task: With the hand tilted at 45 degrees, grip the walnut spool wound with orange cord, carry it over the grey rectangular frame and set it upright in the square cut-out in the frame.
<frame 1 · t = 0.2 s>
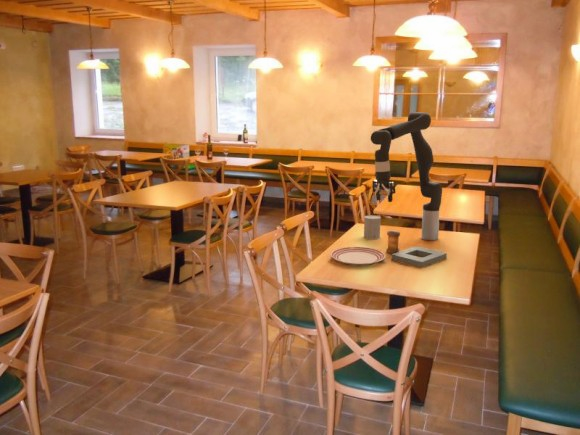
hand: (384, 201, 271), 28 cm above the table, tool pointing down, fingers open, 8 cm apart
dinner plate: (357, 260, 266), on the table
beer can: (371, 237, 309), on the table
grey rectangular frame: (418, 259, 266), on the table
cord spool: (392, 252, 279), on the table
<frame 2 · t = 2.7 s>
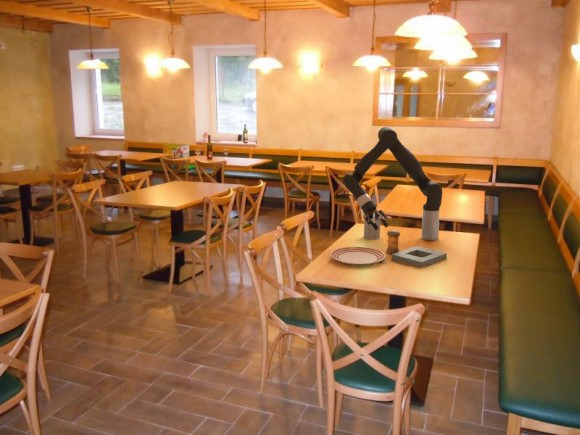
hand: (382, 227, 282), 12 cm above the table, tool tilted 45°, fingers open, 8 cm apart
nothing on the table moved.
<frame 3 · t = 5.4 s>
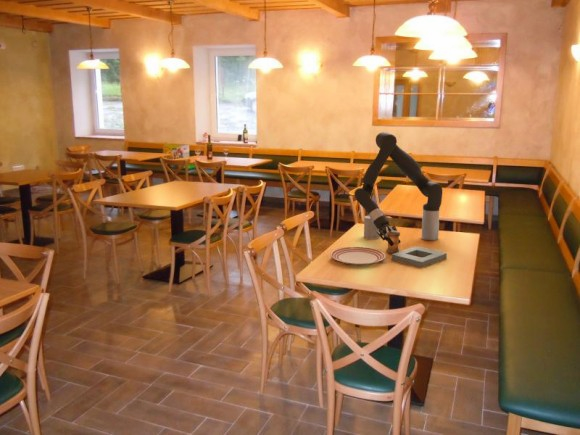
hand: (395, 244, 276), 5 cm above the table, tool tilted 45°, fingers closed on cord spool, 5 cm apart
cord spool: (392, 252, 279), on the table, touching gripper
everything else where it was.
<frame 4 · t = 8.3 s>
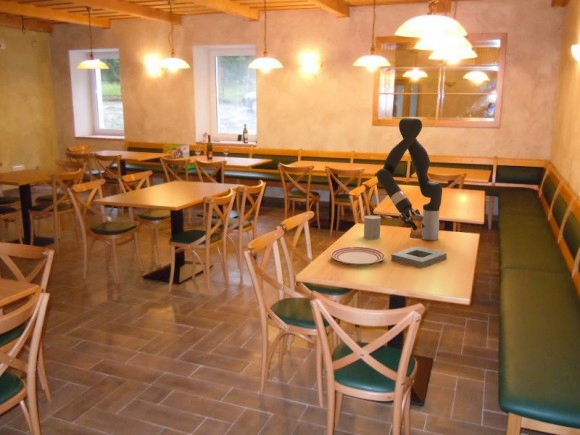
hand: (419, 228, 263), 16 cm above the table, tool tilted 45°, fingers closed on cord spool, 5 cm apart
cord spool: (416, 236, 265), point 11 cm above the table, touching gripper
everything else where it was.
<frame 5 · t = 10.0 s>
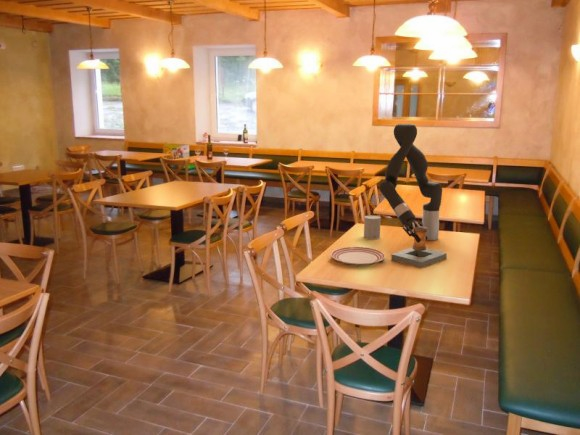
hand: (422, 240, 262), 10 cm above the table, tool tilted 45°, fingers closed on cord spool, 5 cm apart
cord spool: (419, 248, 265), point 6 cm above the table, touching gripper
everything else where it was.
when the fingers open (7 cm above the table, at t = 11.3 s): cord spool drops 1 cm, point 1 cm above the table.
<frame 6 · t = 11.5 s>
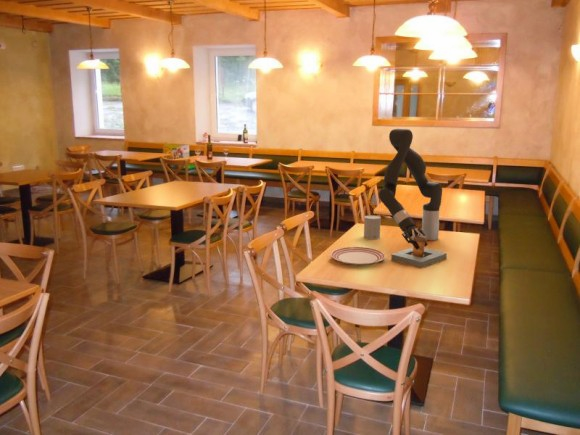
hand: (422, 247, 263), 7 cm above the table, tool tilted 45°, fingers open, 6 cm apart
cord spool: (417, 257, 266), point 1 cm above the table, tilted 6°, touching gripper
everything else where it was.
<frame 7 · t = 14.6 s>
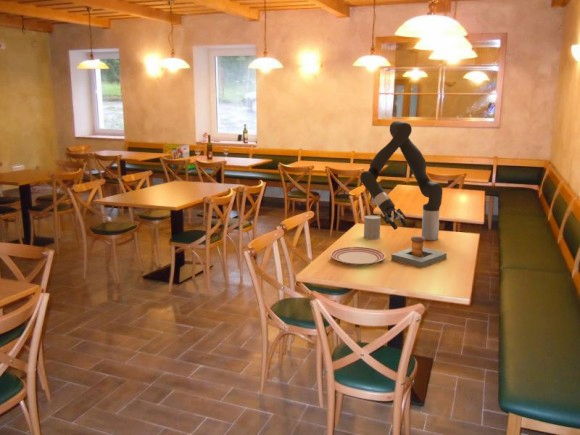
hand: (401, 227, 271), 15 cm above the table, tool tilted 45°, fingers open, 8 cm apart
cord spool: (416, 258, 267), resting in grey rectangular frame
everything else where it was.
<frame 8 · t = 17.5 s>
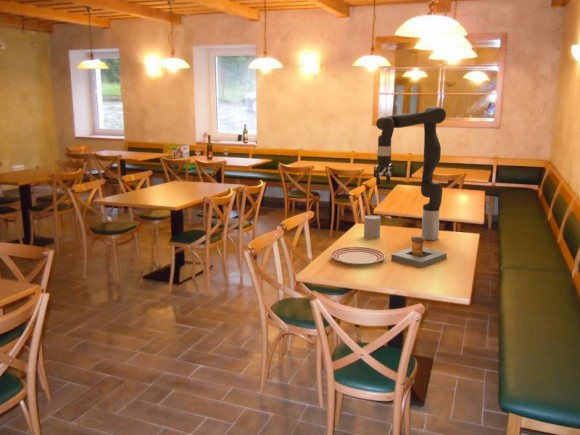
hand: (383, 184, 287), 34 cm above the table, tool pointing down, fingers open, 8 cm apart
nothing on the table moved.
at the end: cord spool 1.6 cm off-centre on the grey rectangular frame, point 0.0 cm above the grey rectangular frame's base; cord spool tilted 1°; the gripper is holding nothing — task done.
